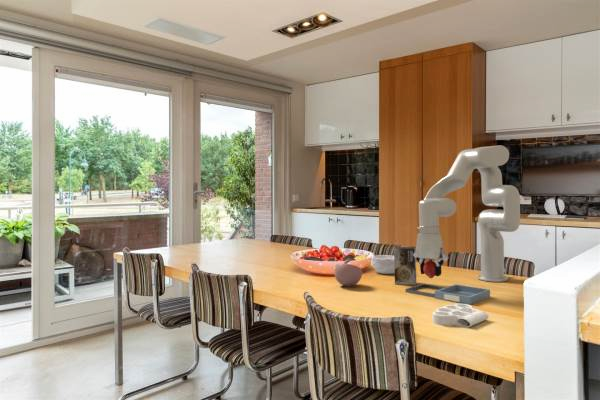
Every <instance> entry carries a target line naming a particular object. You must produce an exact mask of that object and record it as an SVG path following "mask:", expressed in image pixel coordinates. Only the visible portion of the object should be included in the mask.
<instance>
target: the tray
mask: <svg viewBox="0 0 600 400" xmlns="http://www.w3.org/2000/svg"><path fill="white" fill-rule="evenodd" d="M444 287H445V288H442V289H435V290H434V294H435V297H434V299H436V300H441V301H442V300H443V301H446V302H447V301H448V302H452V303H456V304H468V305H471V306H472V305H474V304H476V303H479V302H481V301H483V300H486V299H489V298H490V297H491V290H490V289H489V288H482V287H476V286H471V285H470V286H469V285H463V284H462V285H461V284H457V283H456V284H452V285H449V286H444Z"/></svg>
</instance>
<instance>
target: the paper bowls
mask: <svg viewBox="0 0 600 400" xmlns="http://www.w3.org/2000/svg"><path fill="white" fill-rule="evenodd" d="M370 261H371V262H370V263H371V264H370V266H371V267H372V268H374V270H375V272H376V273H377V274H381V275H393V274H394V275H395V271H394V255H393V254H392V255H390V254H389V255H388V254H380V255H379V254H378V255H372V256H371V259H370Z"/></svg>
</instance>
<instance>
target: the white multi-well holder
mask: <svg viewBox="0 0 600 400" xmlns="http://www.w3.org/2000/svg"><path fill="white" fill-rule="evenodd" d="M489 318H490V317H489V314H488V313H487V312H486V311H483V310H480V309H476V308H473V306H472V304H471V305H468V304H462V303H455V304H447V305H443V306H442V307H437V308H436V309H435V311H433V312H432V323H433V324H435V325H438V326H459V327H462V328H467V329H468V328H470V327H472V326H475V325H477V324H480V323H482V322H483V321H487V320H488V319H489Z"/></svg>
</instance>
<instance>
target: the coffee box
mask: <svg viewBox="0 0 600 400" xmlns="http://www.w3.org/2000/svg"><path fill="white" fill-rule="evenodd" d="M415 251H416V246H406V245H405V246H404V245H403V246H402V245H401V246H400V245H397V246H396V245H395V246H394V248H393V256H394V271H395V274H394V285H405V286H409V285H410V286H417V285H416V284H417V260H416V258H415V257H414V256H413V254H414V253H415Z"/></svg>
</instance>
